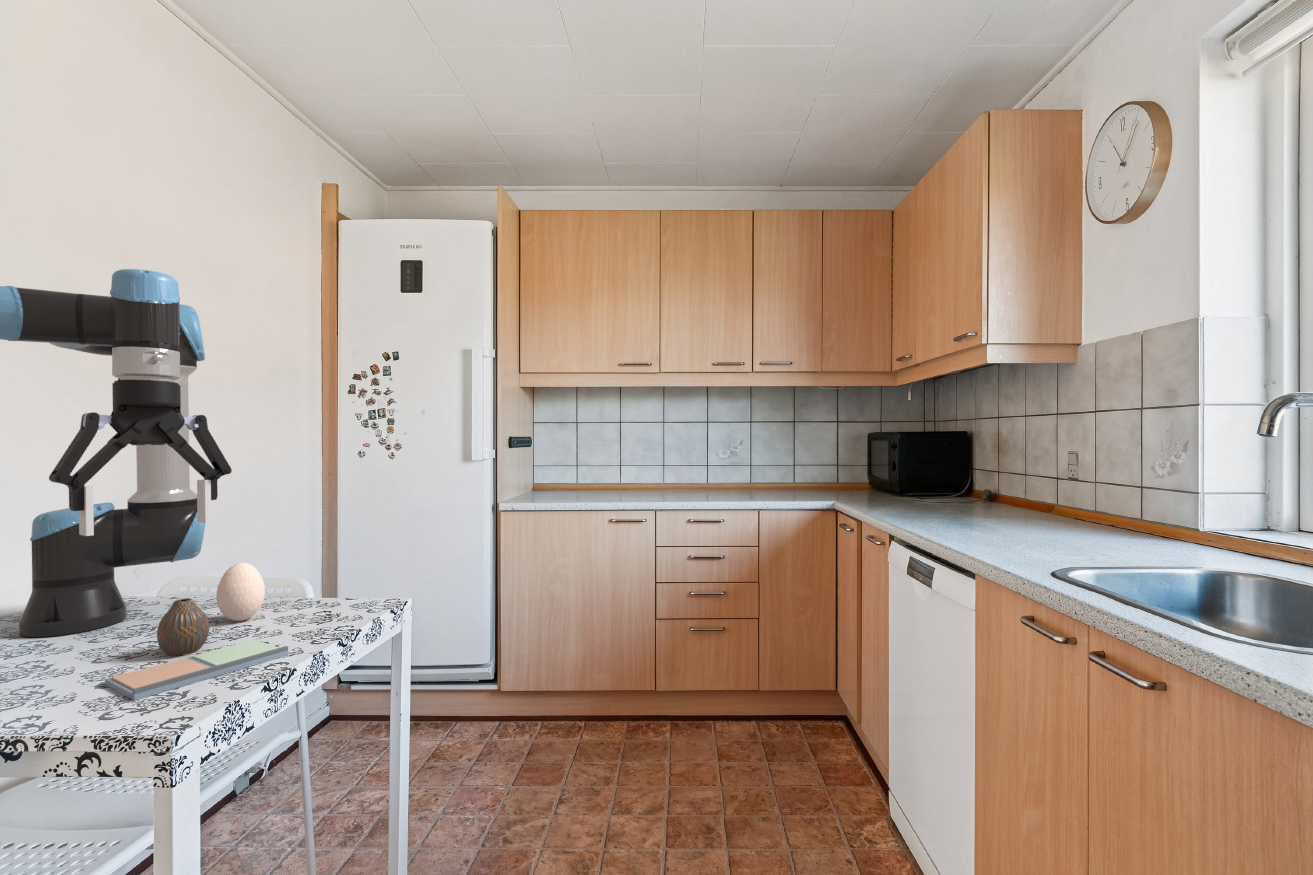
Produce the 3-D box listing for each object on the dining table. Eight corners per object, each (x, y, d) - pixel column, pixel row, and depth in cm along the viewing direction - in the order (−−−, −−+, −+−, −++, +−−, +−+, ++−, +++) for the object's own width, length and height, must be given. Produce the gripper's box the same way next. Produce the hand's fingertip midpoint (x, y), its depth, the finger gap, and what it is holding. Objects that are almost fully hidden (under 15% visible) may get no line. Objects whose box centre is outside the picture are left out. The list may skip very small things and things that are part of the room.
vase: (180, 660, 98) (180, 606, 98) (146, 658, 99) (145, 604, 100) (219, 646, 105) (218, 595, 105) (186, 644, 106) (185, 594, 106)
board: (105, 684, 89) (104, 674, 89) (254, 644, 105) (254, 636, 105) (134, 700, 83) (134, 689, 83) (288, 655, 100) (288, 646, 100)
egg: (273, 618, 122) (272, 561, 122) (228, 628, 115) (227, 568, 115) (253, 612, 126) (253, 557, 126) (209, 622, 119) (208, 564, 119)
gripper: (33, 370, 75) (35, 543, 75) (254, 384, 96) (256, 519, 96) (16, 375, 79) (18, 539, 79) (232, 387, 100) (234, 517, 100)
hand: (149, 528), depth 87 cm, fingers open, 13 cm apart
